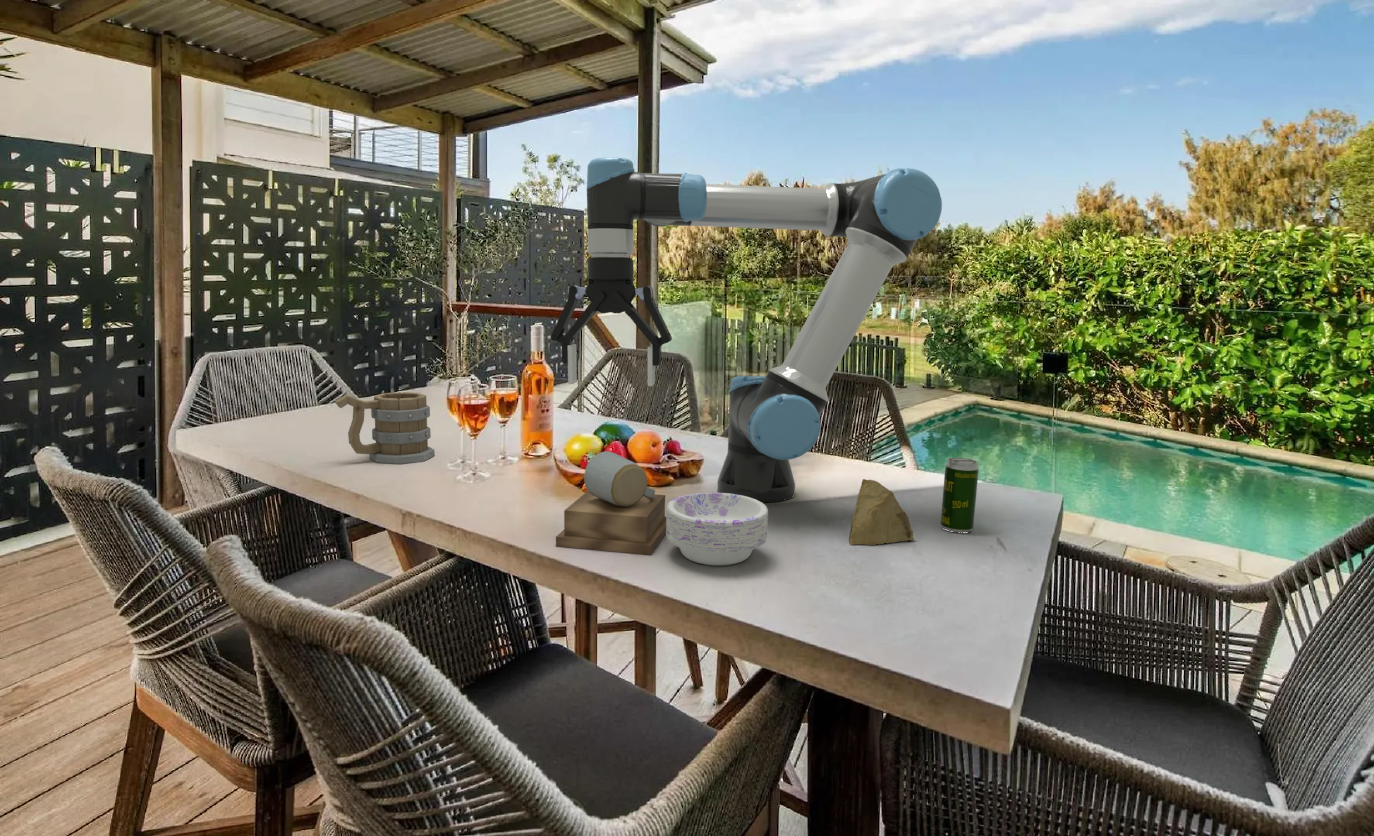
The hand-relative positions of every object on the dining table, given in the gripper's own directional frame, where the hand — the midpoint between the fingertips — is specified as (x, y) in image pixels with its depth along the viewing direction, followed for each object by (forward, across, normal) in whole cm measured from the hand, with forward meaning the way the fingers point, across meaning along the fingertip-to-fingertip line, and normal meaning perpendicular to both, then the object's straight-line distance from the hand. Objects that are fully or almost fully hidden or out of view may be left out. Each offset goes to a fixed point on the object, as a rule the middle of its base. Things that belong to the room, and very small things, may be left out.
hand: (611, 384), depth 137 cm
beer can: (+24, -59, -5) cm, 64 cm away
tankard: (+22, +58, -30) cm, 69 cm away
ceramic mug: (+18, -4, +10) cm, 21 cm away
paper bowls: (+24, -20, +17) cm, 35 cm away
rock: (+24, -46, +4) cm, 52 cm away
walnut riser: (+23, -3, +11) cm, 26 cm away
